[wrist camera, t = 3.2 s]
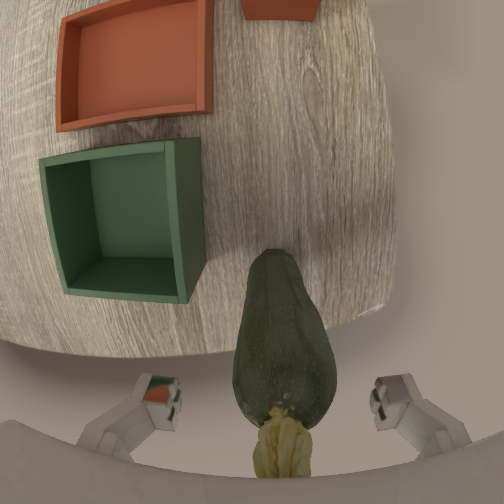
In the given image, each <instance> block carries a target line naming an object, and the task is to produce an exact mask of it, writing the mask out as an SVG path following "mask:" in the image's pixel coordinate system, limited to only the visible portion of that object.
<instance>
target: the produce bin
mask: <svg viewBox="0 0 504 504" xmlns="http://www.w3.org/2000/svg"><path fill="white" fill-rule="evenodd" d="M39 170H40V179H41V187H42V195H43V201H44V208H45V214H46V219H47V225H48V230H49V235H50V240H51V244H52V249H53V253H54V258H55V262H56V266H57V270H58V273H59V277H60V281H61V284H62V288H63V291H64V294H70V295H77V296H87V297H97V298H107V299H118V300H130V301H143V302H157V303H173V304H188V302H189V300H190V297H191V295H192V293H193V291H194V289H195V286H196V284H197V282H198V280H199V277H200V275H201V273H202V271H203V269H204V267H205V265H206V251H205V235H204V218H203V199H202V176H201V146H200V137H196V138H180V139H167V140H156V141H146V142H136V143H128V144H120V145H112V146H105V147H98V148H92V149H86V150H81V151H75V152H70V153H66V154H61V155H56V156H52V157H47V158H43V159H39Z"/></svg>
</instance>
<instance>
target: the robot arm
mask: <svg viewBox="0 0 504 504" xmlns="http://www.w3.org/2000/svg"><path fill="white" fill-rule="evenodd" d="M178 386H179V381H178V378H175V377H167V376H160V375H153V374H146V373H142V374H141V376H140V377H139V379H138V382H137V384H136V386H135V388H134V390H133V393H132V395H131V397H130V399H129V400H125V401H123V402H122V403H120V404H118V405H117V406H115V407H114V408H112V409H111V410H109V411H107V412H106V413H104V414H103V415H101V416H99V417H98V418H96V419H95V420H93V421H91V422H90V423H88V424H86V427H85V428H84V430H83V432H82V434H81V436H80V439H79V441H78V442H77V444H76V445H73V444H70V443H67V442H64V441H62V440H59V439H56V438H54V437H51V436H49V435H46V434H44V433H42V432H40V431H37V430H35V429H33V428H30V427H28V426H26V425H24V424H22V423H20V422H18V421H15V420H8V421H5V422H2V423H0V504H504V430H503V431H500V432H498V433H496V434H493V435H491V436H488V437H486V438H484V439H481V440H479V441H476V442H473V443H472V441H471V439H470V437H469V435H468V432H467V430H466V428H465V426H464V424H463V423H462V422H460V421H459V420H457V419H456V418H454V417H453V416H451V415H450V414H448V413H447V412H445V411H444V410H442V409H441V408H439V407H437V406H436V405H434V404H433V403H431V402H430V401H428V400H427V399H423V398H422V396H421V393H420V391H419V389H418V387H417V385H416V383H415V381H414V379H413V377H412V375H411V374H410V373H409V374H402V375H395V376H386V377H378V378H377V379H376V381H375V387H376V388H375V389H374V390H373V391H372V392H371V395H370V407H371V411H372V412H373V413H374V414H376V415H375V418H374V421H375V425H376V428H377V431H381V430H388V429H394V428H396V429H395V430H396V431H397V432H398V433H400V434H401V435H402V436H403V437H404V438H405V439H406V440H407V441H408V442H409V443H410V444H411V445H412V446H413V447H414V448H415V449H416V450H417V451H419V453H420V454H419V455H418V457H417V458H416V459H415V460H414V461H412V462H408V463H403V464H399V465H394V466H389V467H384V468H379V469H373V470H367V471H362V472H355V473H347V474H339V475H328V476H316V477H299V478H243V477H242V478H241V477H226V476H214V475H205V474H196V473H188V472H181V471H175V470H169V469H163V468H158V467H153V466H148V465H143V464H139V463H135V462H134V460H133V459H132V457H131V456H130V454H129V453H131V452H132V451H133V450H134V449H135V448H136V447H137V446H138V445H140V444H141V443H142V442H143V441H144V440H145V439H146V438H147V437H148V436H150V435H151V434H152V433H153V432H154V431H155V429H158V430H165V431H173V432H175V428H176V425H177V422H178V418H177V414H178V413H179V412H180V411H181V407H182V393H181V390H179V389H178Z"/></svg>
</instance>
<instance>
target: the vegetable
mask: <svg viewBox="0 0 504 504" xmlns="http://www.w3.org/2000/svg"><path fill="white" fill-rule="evenodd" d="M232 383H233V389H234V393H235V397H236V400H237V403H238V405H239V407H240V409H241V411H242V413H243V414H244V416H245V417H246V418H247V419H248V420H249V421H250V422H251V423H252V424H254V425H255V426H256V427H258V428H260V430H259V432H258V438H259V441H258V442H257V444H256V447H255V449H254V452H253V463H254V469H255V473H256V476H257V478H299V477H310V476H311V470H310V457H311V453H312V438H311V434H310V433H309V432H308V430H309V429H311V428H313V427H314V426H316V425H317V424H318V423H319V422H320V420H321V419H322V418H323V417H324V415H325V414H326V412H327V410H328V409H329V407H330V405H331V403H332V401H333V398H334V395H335V392H336V387H337V372H336V365H335V359H334V354H333V352H332V349H331V346H330V343H329V340H328V337H327V334H326V331H325V329H324V326H323V323H322V320H321V317H320V315H319V312H318V310H317V309H316V307H315V305H314V304H313V302H312V301H311V299H310V297H309V296H308V294H307V292H306V289H305V287H304V284H303V278H302V275H301V272H300V270H299V268H298V265H297V263H296V262H295V260H294V258H293V256H292V255H291V254H289V253H287V252H286V251H284V250H282V249H266V250H265V251H264V252H263V253H262V254H260V255H259V256H258V257H257V258H256V259H255V260H254V262H253V263H252V265H251V267H250V271H249V276H248V281H247V291H246V298H245V303H244V310H243V315H242V321H241V325H240V329H239V334H238V340H237V347H236V352H235V357H234V366H233V379H232Z"/></svg>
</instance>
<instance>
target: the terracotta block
mask: <svg viewBox="0 0 504 504" xmlns="http://www.w3.org/2000/svg"><path fill="white" fill-rule="evenodd" d="M320 2H321V0H241V3H242V7H243V11H244V15H245V19H246V20H297V21H313V19H314V17H315V14H316V12H317V9H318V7H319V4H320Z"/></svg>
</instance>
